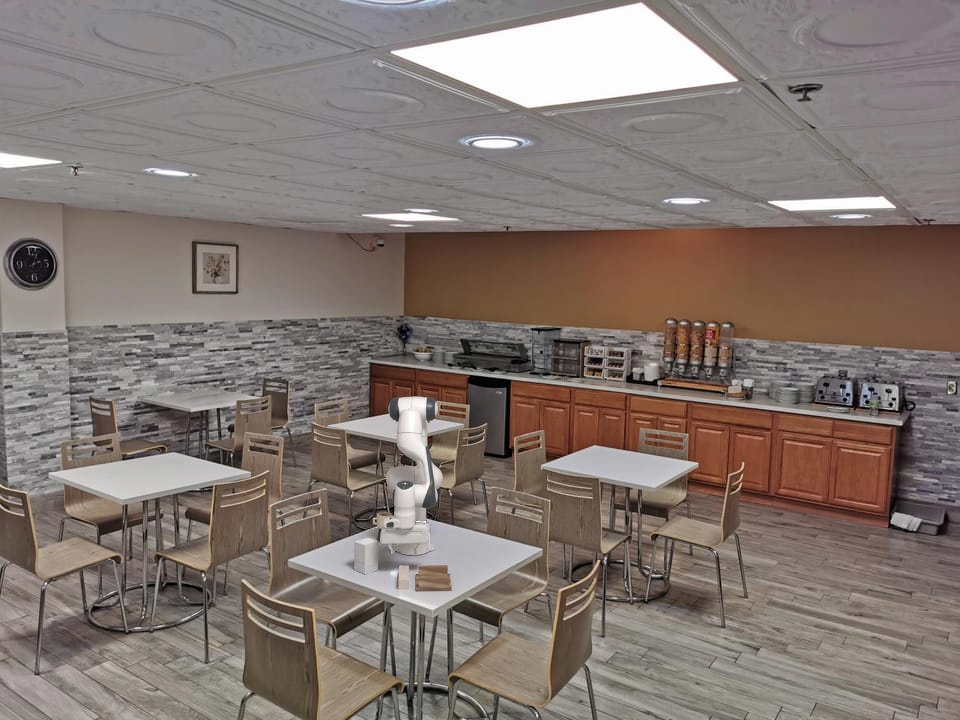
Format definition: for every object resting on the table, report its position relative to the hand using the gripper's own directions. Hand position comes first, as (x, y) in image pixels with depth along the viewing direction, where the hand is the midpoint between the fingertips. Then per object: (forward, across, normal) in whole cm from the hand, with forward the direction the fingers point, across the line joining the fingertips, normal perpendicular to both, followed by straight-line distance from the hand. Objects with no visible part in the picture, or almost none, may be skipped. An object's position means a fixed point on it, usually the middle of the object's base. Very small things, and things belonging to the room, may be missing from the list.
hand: (404, 553), depth 294 cm
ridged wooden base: (+9, -12, +9) cm, 18 cm away
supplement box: (+10, +16, -7) cm, 20 cm away
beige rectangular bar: (+10, 0, +6) cm, 12 cm away
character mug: (+11, +10, -45) cm, 47 cm away
